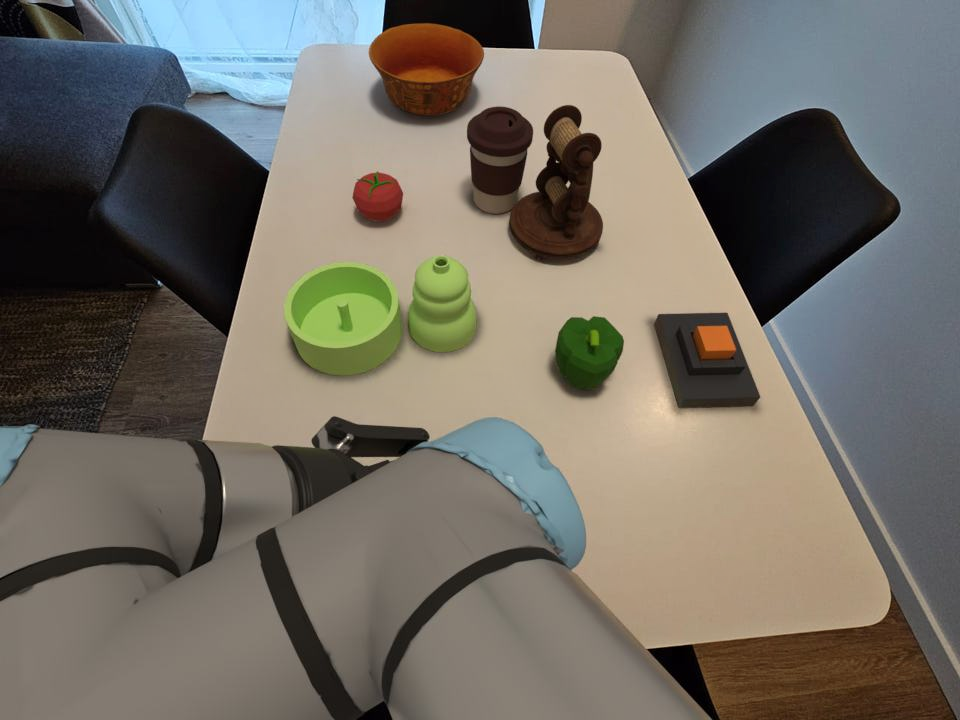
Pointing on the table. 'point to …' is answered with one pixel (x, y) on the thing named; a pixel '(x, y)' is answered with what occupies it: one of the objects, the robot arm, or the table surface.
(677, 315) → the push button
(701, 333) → the orange square block
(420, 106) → the bowl
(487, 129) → the coffee cup
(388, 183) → the tomato
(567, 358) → the bell pepper
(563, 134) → the wooden spool holder
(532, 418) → the table surface
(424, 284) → the green rounded pieces
